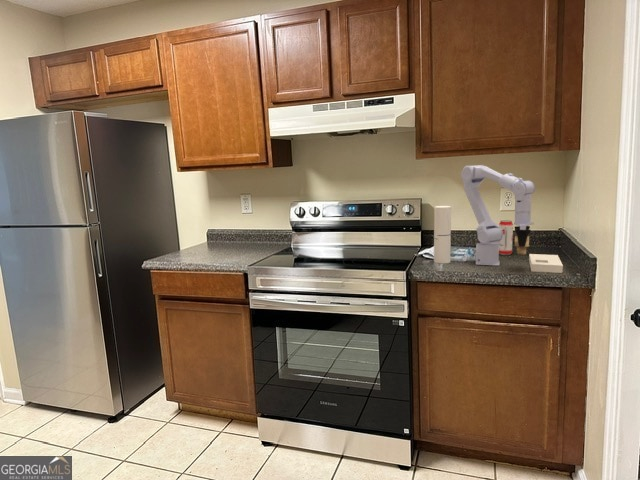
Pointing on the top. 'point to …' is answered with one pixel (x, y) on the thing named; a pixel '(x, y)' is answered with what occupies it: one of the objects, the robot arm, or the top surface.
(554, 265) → the board
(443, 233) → the cylindrical container
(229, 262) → the top surface
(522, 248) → the peg
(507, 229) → the beer can
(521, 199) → the robot arm
